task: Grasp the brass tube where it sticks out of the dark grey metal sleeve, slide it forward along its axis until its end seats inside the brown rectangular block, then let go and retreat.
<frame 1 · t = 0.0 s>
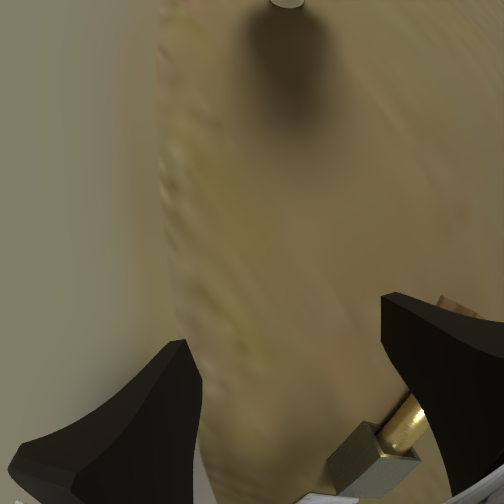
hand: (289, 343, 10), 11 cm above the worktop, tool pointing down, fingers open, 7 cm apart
brown rectangular block: (452, 329, 21), on the worktop
tube: (398, 436, 20), point 3 cm above the worktop, slide at 0.0 cm
sleeve: (365, 446, 23), on the worktop
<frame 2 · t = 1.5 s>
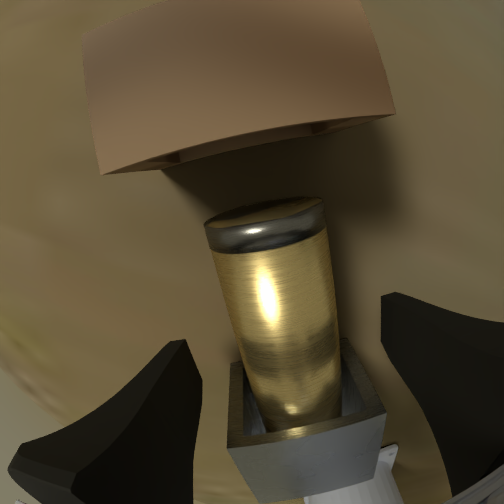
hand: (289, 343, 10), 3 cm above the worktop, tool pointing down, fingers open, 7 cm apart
brown rectangular block: (235, 99, 10), on the worktop
tube: (295, 374, 11), point 3 cm above the worktop, slide at 0.0 cm
sleeve: (297, 393, 14), on the worktop
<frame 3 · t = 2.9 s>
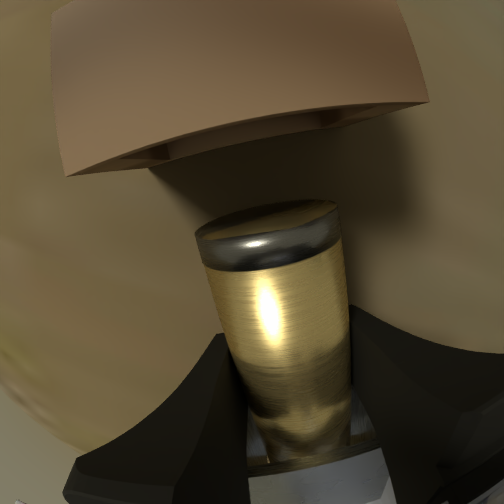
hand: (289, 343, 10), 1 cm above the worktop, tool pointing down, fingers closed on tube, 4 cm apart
brown rectangular block: (233, 87, 9), on the worktop
tube: (300, 398, 9), point 3 cm above the worktop, slide at 0.0 cm, touching gripper
sleeve: (300, 410, 13), on the worktop
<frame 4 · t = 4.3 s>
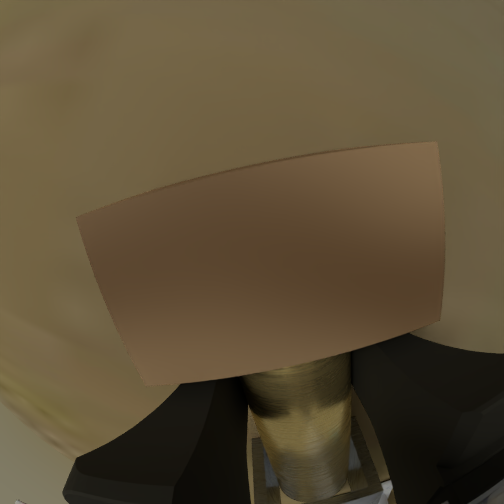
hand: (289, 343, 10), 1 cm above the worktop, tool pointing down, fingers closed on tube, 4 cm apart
brown rectangular block: (263, 222, 10), on the worktop
tube: (300, 399, 9), point 3 cm above the worktop, slide at 4.7 cm, touching gripper
sleeve: (308, 454, 14), on the worktop
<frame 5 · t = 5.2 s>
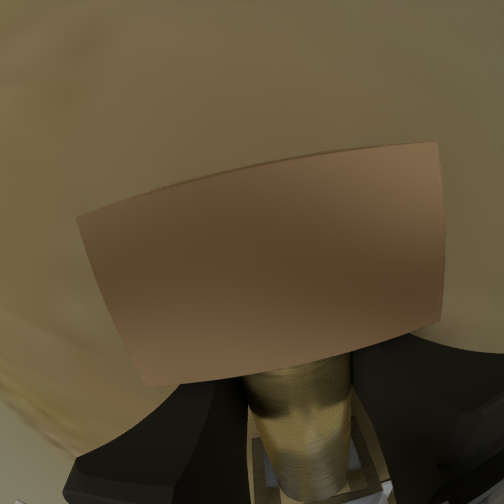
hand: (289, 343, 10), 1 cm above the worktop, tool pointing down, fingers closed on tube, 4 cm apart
brown rectangular block: (263, 222, 10), on the worktop
tube: (300, 399, 9), point 3 cm above the worktop, slide at 4.8 cm, touching gripper
sleeve: (308, 454, 14), on the worktop
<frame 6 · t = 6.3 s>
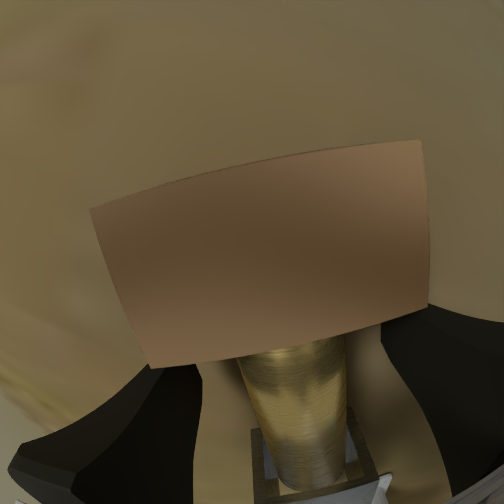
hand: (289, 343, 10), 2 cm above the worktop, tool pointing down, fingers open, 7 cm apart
brown rectangular block: (261, 216, 11), on the worktop
tube: (297, 386, 10), point 3 cm above the worktop, slide at 4.8 cm
sleeve: (306, 446, 15), on the worktop
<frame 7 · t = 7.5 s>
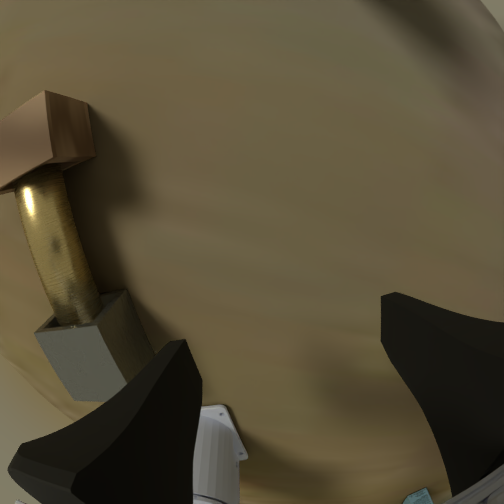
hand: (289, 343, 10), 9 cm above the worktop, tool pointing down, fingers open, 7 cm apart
brown rectangular block: (53, 147, 16), on the worktop
tube: (51, 232, 15), point 3 cm above the worktop, slide at 4.8 cm
sleeve: (110, 328, 20), on the worktop
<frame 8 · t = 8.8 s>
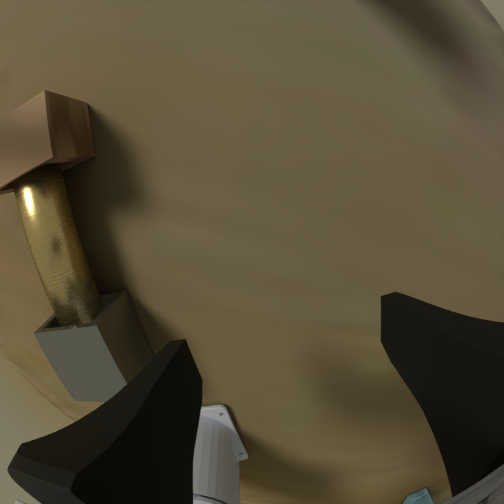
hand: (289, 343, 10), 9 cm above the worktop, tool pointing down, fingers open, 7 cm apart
brown rectangular block: (53, 147, 16), on the worktop
tube: (50, 232, 15), point 3 cm above the worktop, slide at 4.8 cm
sleeve: (110, 328, 20), on the worktop
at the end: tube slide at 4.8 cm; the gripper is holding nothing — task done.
